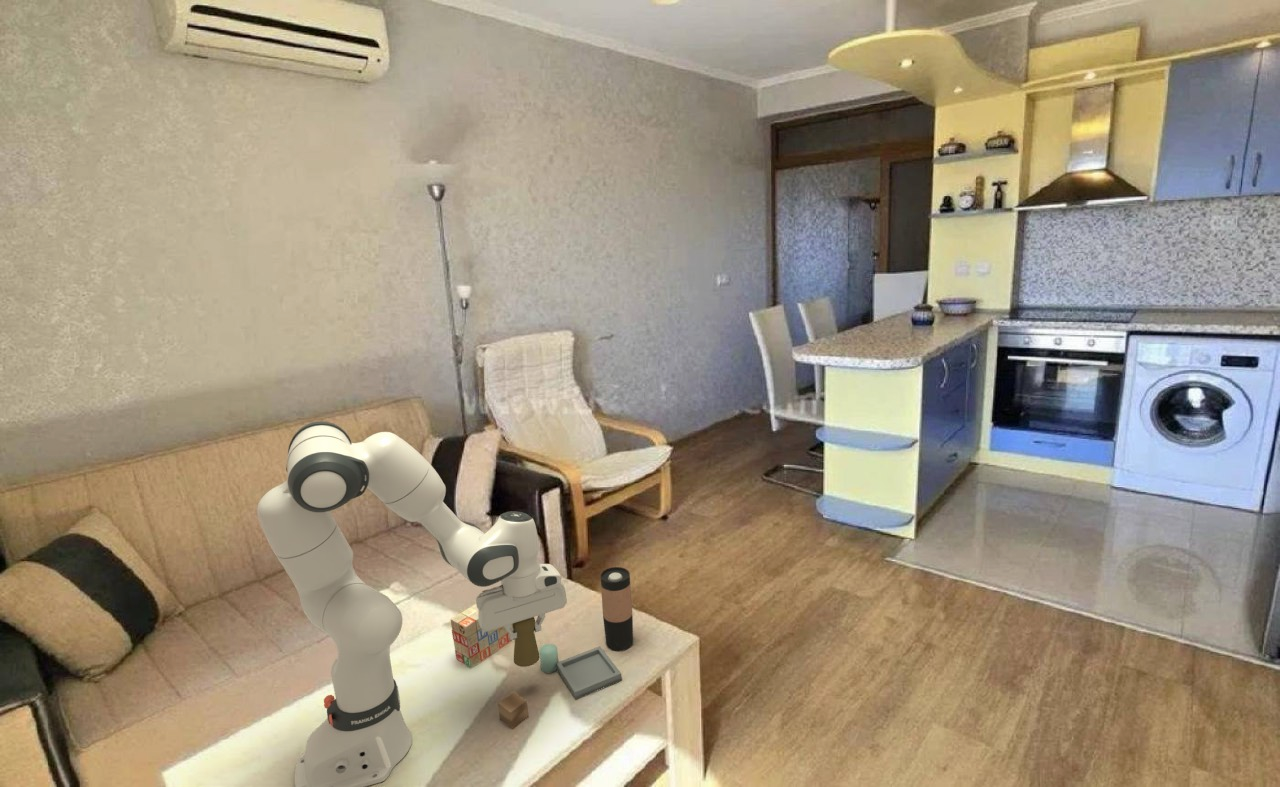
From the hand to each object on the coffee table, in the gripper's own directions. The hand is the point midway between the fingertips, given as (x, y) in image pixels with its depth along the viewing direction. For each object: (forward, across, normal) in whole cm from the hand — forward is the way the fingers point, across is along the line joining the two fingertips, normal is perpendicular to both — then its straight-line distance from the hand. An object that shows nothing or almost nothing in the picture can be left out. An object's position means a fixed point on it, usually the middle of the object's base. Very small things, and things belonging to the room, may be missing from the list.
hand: (525, 634), depth 144 cm
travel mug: (+14, +26, +4) cm, 30 cm away
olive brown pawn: (+7, 0, 0) cm, 7 cm away
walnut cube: (+15, -6, -7) cm, 18 cm away
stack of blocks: (+15, -2, +22) cm, 27 cm away
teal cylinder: (+15, +7, +5) cm, 17 cm away
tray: (+14, +14, -3) cm, 20 cm away
